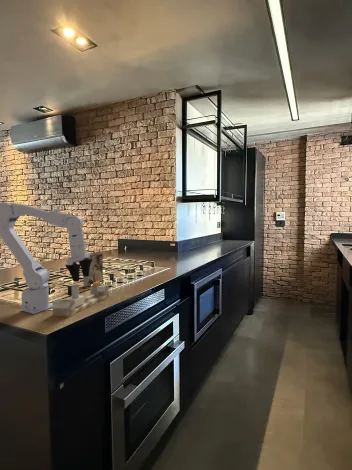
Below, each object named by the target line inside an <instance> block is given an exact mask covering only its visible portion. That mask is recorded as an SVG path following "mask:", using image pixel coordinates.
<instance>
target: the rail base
mask: <svg viewBox="0 0 352 470" xmlns="http://www.w3.org/2000/svg"><path fill="white" fill-rule="evenodd" d="M108 297H110V285H109V284H103V283H102V284H100V286H93V285H92V286H91V287H90V294H89V295H87V296H85V303H84V304H82V305H80V306H77V307H75V301H74V300H66V299H67V298H66V299H64V298H58V299H56V300H53V301H52V304H51V305H52V306H53V307H52V316H56V317H57V316H58V317H62V318H70V317H72V316H74V315H76V314H78V313H80V312H81V311H83V310H86V309H87V308H88V307H91V306H93V305H94V304H95V305H96V304H97V303H98V302H100V301H102V300H105V299H106V298H108Z"/></svg>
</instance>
